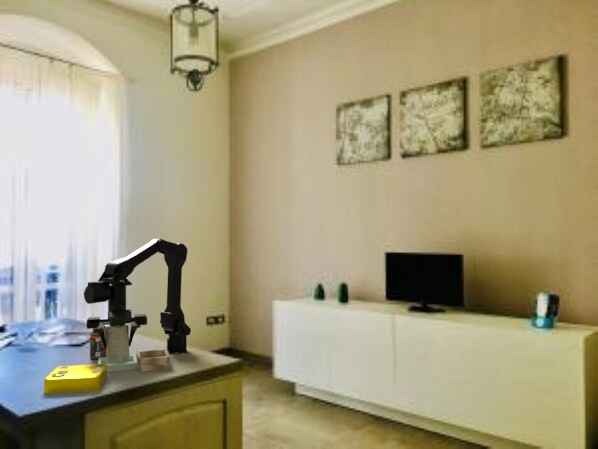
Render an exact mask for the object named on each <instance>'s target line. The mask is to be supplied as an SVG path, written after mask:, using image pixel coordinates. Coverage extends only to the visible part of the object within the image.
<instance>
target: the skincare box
mask: <svg viewBox="0 0 598 449" xmlns="http://www.w3.org/2000/svg"><path fill="white" fill-rule="evenodd" d="M105 330H106V359H107V364H124V363H127V362H129V361H130V358H129V355H130V347H129V336H130V328H129V325H128V324H125V325H124V326H114V327H111V326H110V325H108V326H105Z"/></svg>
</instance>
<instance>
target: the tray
mask: <svg viewBox="0 0 598 449" xmlns="http://www.w3.org/2000/svg"><path fill="white" fill-rule="evenodd" d="M129 358H130V361H129V362H127V363H124V364H107V359H106V357H102V358H98V360H97V364H106V365H107V373H109V372H120V371H121V372H122V371H132V370H137V359H136V354H129Z"/></svg>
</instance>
